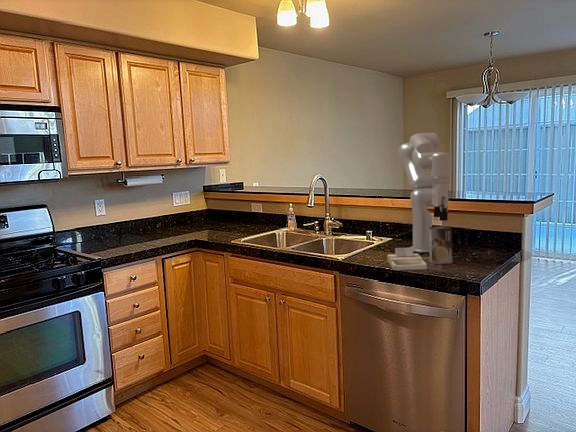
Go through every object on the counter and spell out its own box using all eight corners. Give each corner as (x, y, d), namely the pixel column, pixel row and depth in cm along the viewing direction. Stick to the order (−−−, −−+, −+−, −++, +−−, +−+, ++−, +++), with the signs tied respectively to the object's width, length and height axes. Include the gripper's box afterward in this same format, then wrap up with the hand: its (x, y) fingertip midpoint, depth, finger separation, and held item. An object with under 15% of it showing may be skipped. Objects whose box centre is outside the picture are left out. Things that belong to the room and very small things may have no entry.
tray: (391, 266, 200) (391, 261, 200) (422, 264, 199) (422, 260, 199) (394, 270, 192) (394, 265, 192) (427, 269, 191) (427, 264, 191)
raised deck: (387, 260, 210) (387, 254, 209) (417, 259, 209) (417, 253, 209) (391, 266, 200) (391, 259, 200) (422, 264, 199) (422, 258, 199)
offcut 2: (404, 255, 207) (403, 247, 206) (411, 254, 207) (411, 247, 206) (405, 256, 203) (405, 249, 203) (413, 256, 203) (413, 249, 203)
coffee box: (449, 260, 205) (449, 226, 203) (452, 263, 199) (452, 228, 196) (429, 260, 206) (428, 226, 204) (431, 264, 200) (431, 229, 198)
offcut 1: (395, 255, 207) (395, 248, 207) (402, 255, 207) (402, 247, 206) (396, 257, 204) (396, 249, 203) (404, 256, 203) (404, 249, 203)
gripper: (427, 179, 206) (427, 216, 208) (437, 182, 189) (437, 222, 191) (443, 179, 205) (443, 215, 208) (455, 181, 188) (454, 221, 191)
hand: (440, 218), depth 200 cm, fingers open, 9 cm apart
